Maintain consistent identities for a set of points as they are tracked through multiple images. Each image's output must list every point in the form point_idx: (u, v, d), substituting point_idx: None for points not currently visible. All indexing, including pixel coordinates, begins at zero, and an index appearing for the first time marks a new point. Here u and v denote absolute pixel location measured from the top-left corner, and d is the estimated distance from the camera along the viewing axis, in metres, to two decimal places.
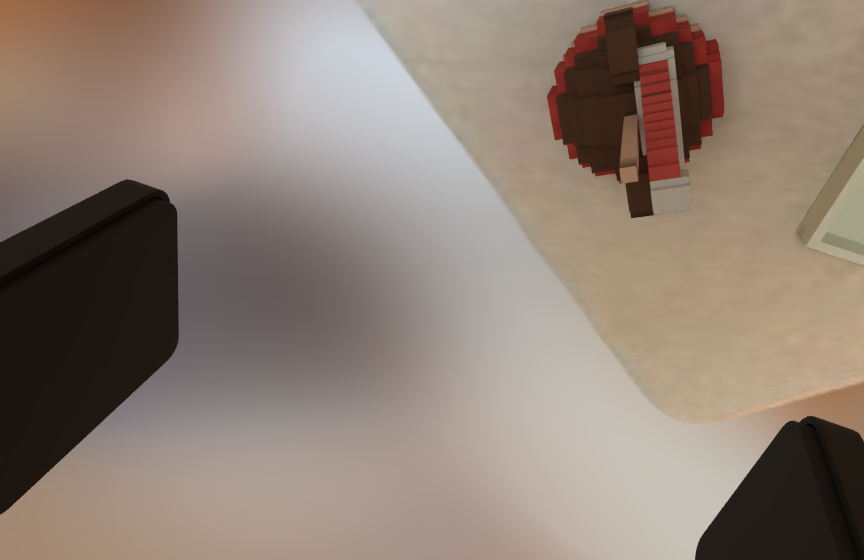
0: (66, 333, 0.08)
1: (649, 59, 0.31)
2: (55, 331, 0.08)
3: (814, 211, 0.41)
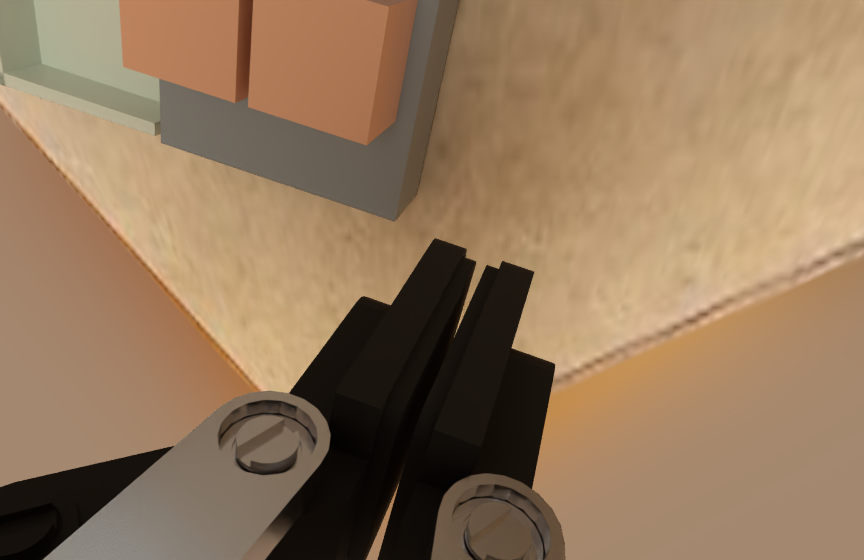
0: (424, 392, 0.08)
1: None
2: (422, 392, 0.08)
3: None
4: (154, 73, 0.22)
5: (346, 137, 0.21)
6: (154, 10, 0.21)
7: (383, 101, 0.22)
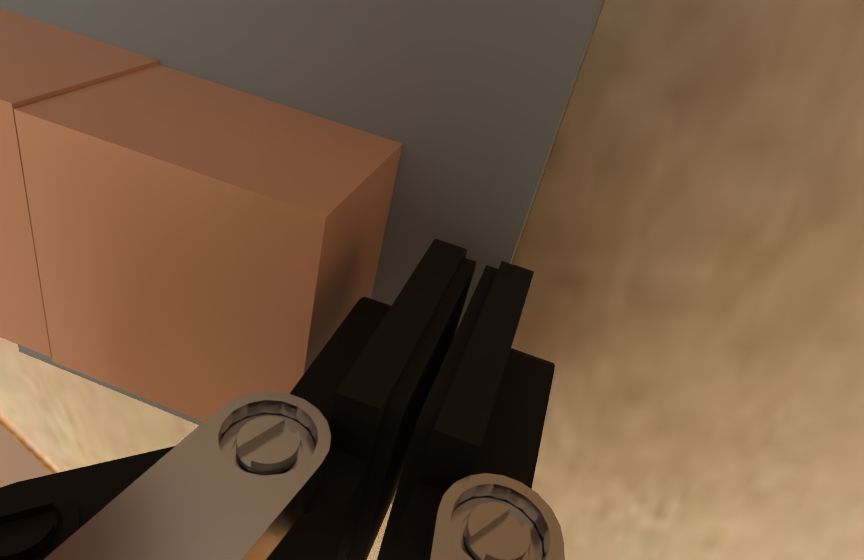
0: (424, 392, 0.08)
1: None
2: (422, 392, 0.08)
3: None
4: None
5: None
6: None
7: None
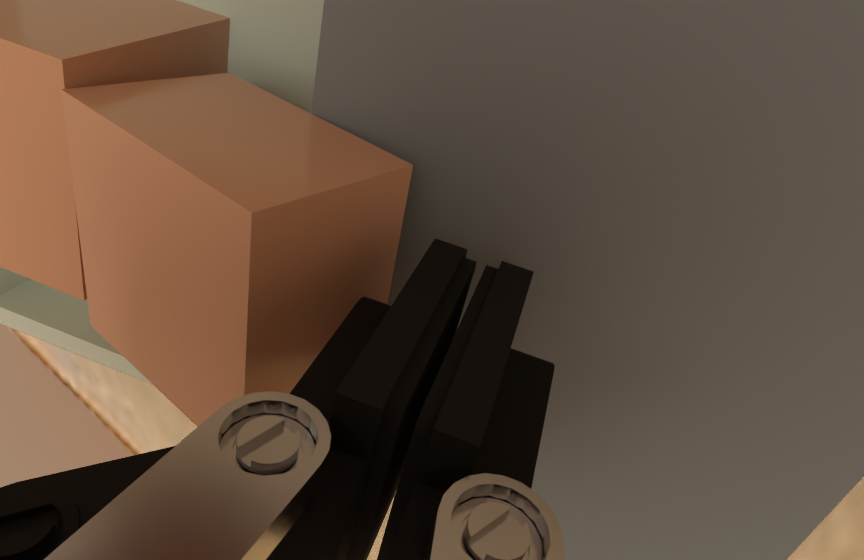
0: (424, 392, 0.08)
1: None
2: (422, 392, 0.08)
3: None
4: None
5: None
6: None
7: (299, 377, 0.10)
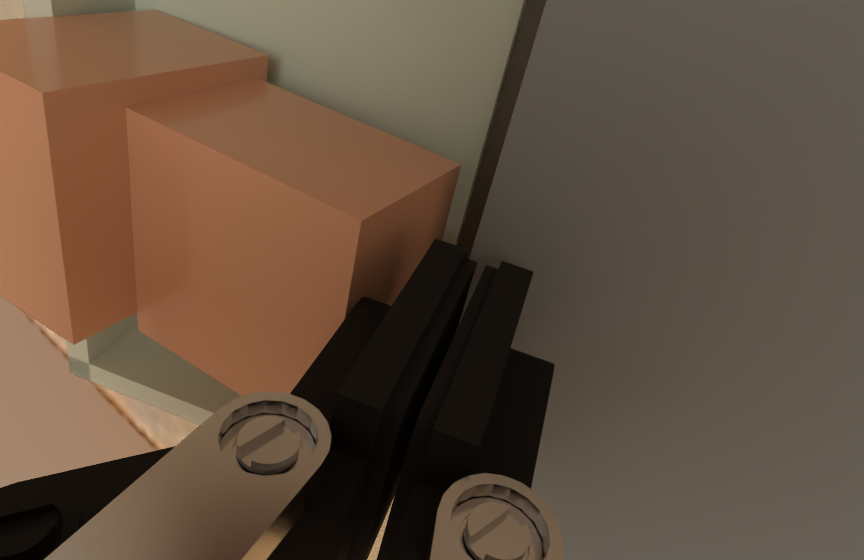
0: (424, 392, 0.08)
1: None
2: (423, 392, 0.08)
3: None
4: None
5: None
6: None
7: None
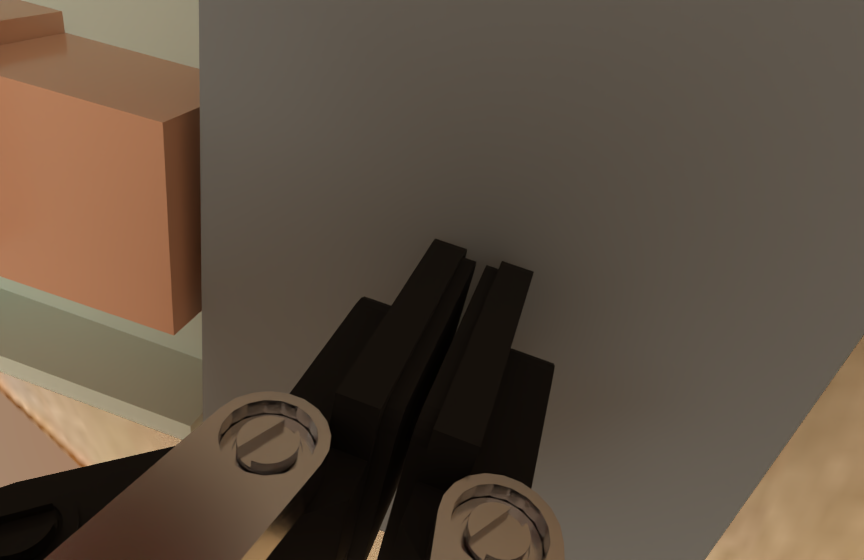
0: (424, 392, 0.08)
1: None
2: (422, 392, 0.08)
3: None
4: None
5: (141, 322, 0.13)
6: None
7: None
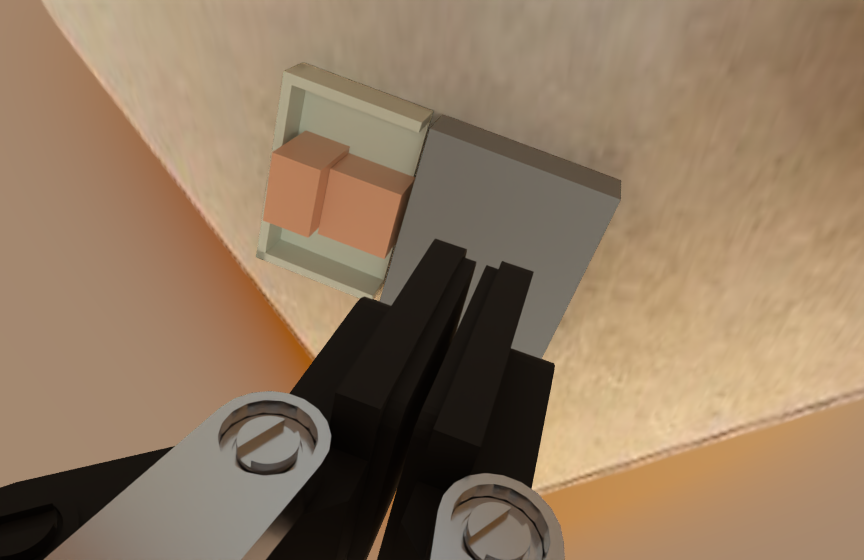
0: (424, 392, 0.08)
1: None
2: (422, 392, 0.08)
3: (325, 75, 0.37)
4: None
5: (373, 254, 0.39)
6: None
7: (394, 234, 0.39)
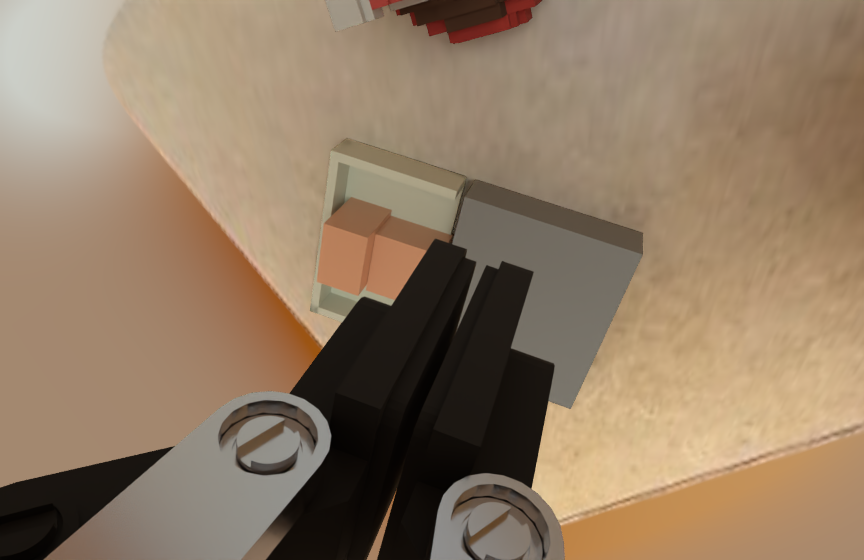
0: (424, 392, 0.08)
1: None
2: (422, 392, 0.08)
3: (367, 150, 0.41)
4: None
5: None
6: None
7: None
